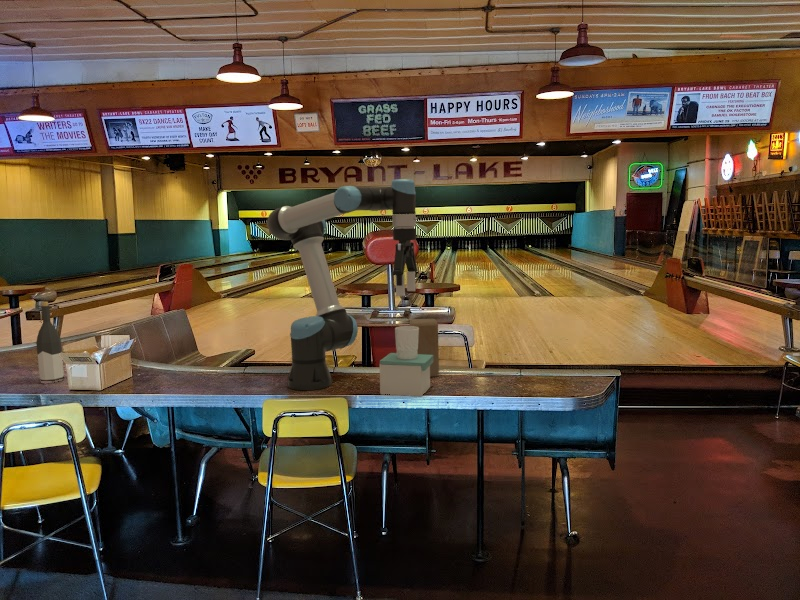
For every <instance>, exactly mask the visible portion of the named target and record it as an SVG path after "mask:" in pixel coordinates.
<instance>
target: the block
mask: <svg viewBox="0 0 800 600" xmlns="http://www.w3.org/2000/svg"><path fill="white" fill-rule="evenodd" d="M409 326H415V327H418V328H419V338H418V350H417V351H418V354H425V355H433V363H432V364H431V365H430V378H433V377H434V378H435V377H436V378H437V377H439V375H440V372H439V371H440V366H439V365H440V363H439V361H440V359H439V351H440V350H439V324H438V321H437V319H435V318H417V319H416V318H414V319H413V318H412V319H410V320H409Z"/></svg>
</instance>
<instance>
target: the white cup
mask: <svg viewBox="0 0 800 600" xmlns="http://www.w3.org/2000/svg"><path fill="white" fill-rule="evenodd" d="M394 336H395V350H396V353H397V358H398V359H403V360H411V359H416V358H417V354H418V351H417V350H418V338H419V328H418V327H415V326H410V325H402V326H396V327H395V328H394Z"/></svg>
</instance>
